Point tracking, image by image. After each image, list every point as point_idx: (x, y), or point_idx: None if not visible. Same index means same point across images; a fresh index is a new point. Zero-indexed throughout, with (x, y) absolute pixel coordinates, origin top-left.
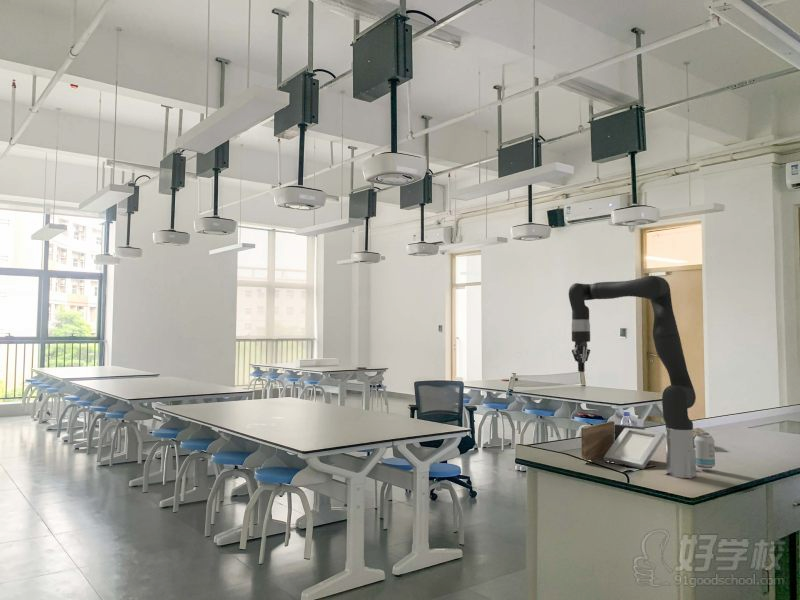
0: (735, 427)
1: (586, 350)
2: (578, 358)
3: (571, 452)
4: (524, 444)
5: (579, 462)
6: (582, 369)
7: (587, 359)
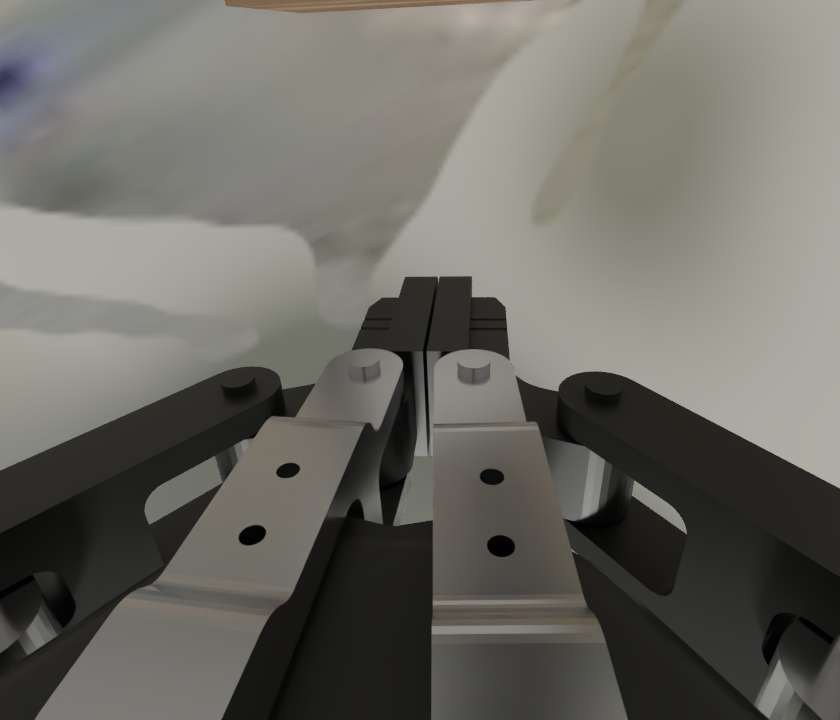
0: None
1: (193, 592)
2: (611, 483)
3: (416, 210)
4: None
5: (661, 32)
6: (471, 299)
7: (186, 390)
